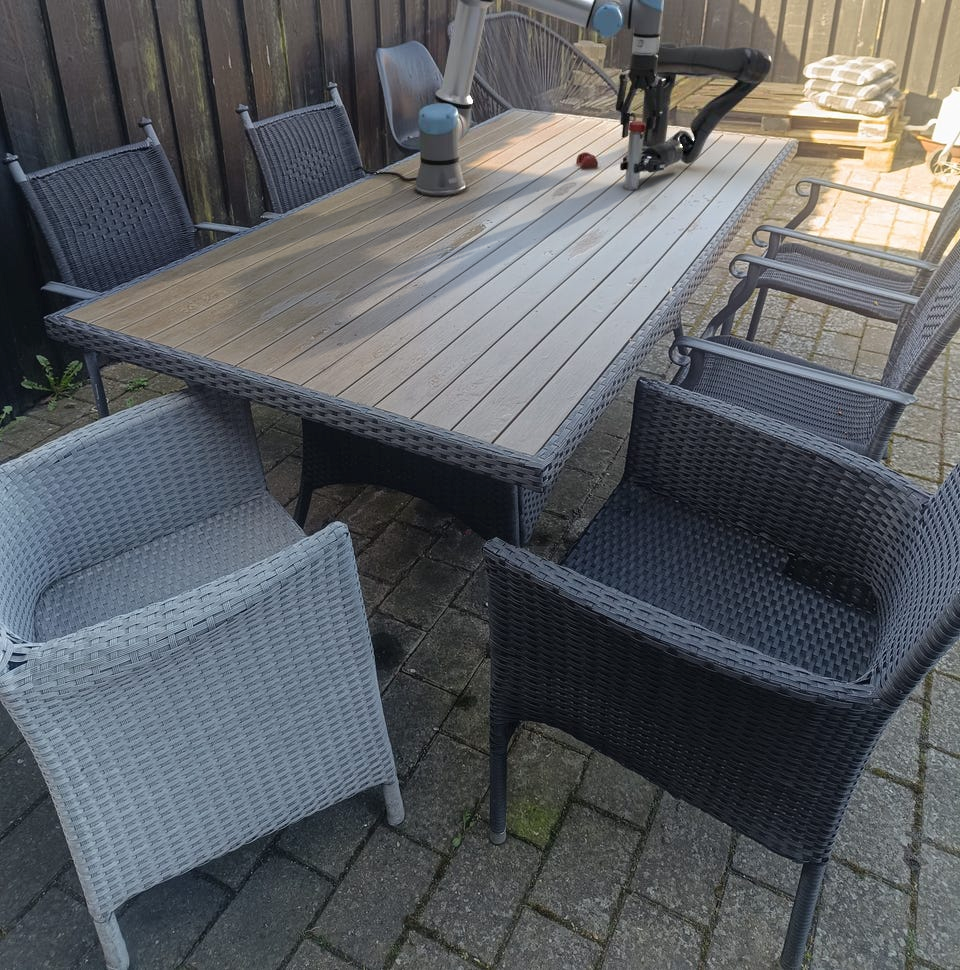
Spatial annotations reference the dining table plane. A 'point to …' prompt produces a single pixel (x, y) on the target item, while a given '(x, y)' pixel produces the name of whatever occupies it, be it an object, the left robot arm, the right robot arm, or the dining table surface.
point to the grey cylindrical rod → (633, 160)
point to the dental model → (587, 160)
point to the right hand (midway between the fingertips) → (628, 168)
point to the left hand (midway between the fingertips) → (636, 138)
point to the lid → (637, 127)
